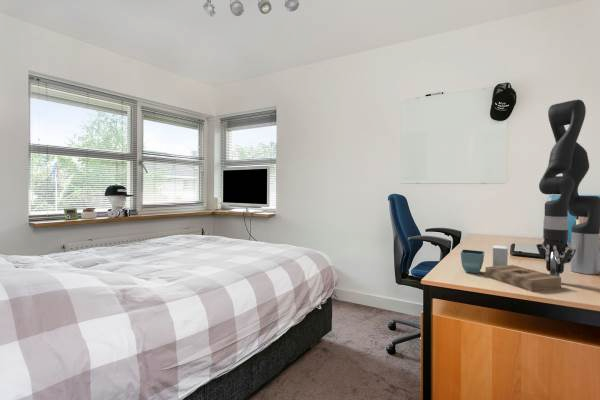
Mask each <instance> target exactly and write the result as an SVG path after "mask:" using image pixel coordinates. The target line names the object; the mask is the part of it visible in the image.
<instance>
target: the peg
mask: <svg viewBox="0 0 600 400" xmlns="http://www.w3.org/2000/svg"><path fill="white" fill-rule="evenodd" d="M557 264H558V263H557V259H556V257H555V253H554V252H551V251H550V271H549V274H550V275H554V276H558V277H561V276H560V275H561V273H560V274H559V273H557V272H556V269H557Z"/></svg>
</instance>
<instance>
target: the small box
mask: <svg viewBox="0 0 600 400" xmlns="http://www.w3.org/2000/svg"><path fill="white" fill-rule="evenodd" d="M508 250H509V249H508V246H506V245H492V267H494V266H505V265H508Z"/></svg>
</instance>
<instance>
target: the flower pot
mask: <svg viewBox="0 0 600 400" xmlns="http://www.w3.org/2000/svg"><path fill="white" fill-rule="evenodd" d="M484 257H485V251H483V250H475V249H474V250H473V249H464V248H463V249H461V252H460V260H461V261H460V262H461V267H462V269H463V270H464V272H465V273H472V274H479V273H480V272H481V269H482V267H483V263H484V260H485V259H484Z"/></svg>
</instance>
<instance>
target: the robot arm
mask: <svg viewBox="0 0 600 400" xmlns="http://www.w3.org/2000/svg"><path fill="white" fill-rule="evenodd" d="M586 110H587V109H586V105H585V102H584V101H583V100H582V99H572V100H568V101H564V102H558V103H555V104H552V105H550V106H549V108H548V111H547V112H548V113H547V116H548V122H549V124H550V125H549V126H550V127H551V131H552V134H553V138H554V141H555V144H554V145H553V147H552V148H551V150H550V154H549V159H548V165H547V168H546V170H545V172H544V173H543V175H542V177H541V179H540V181H539V183H538V189H539V192H540V193H542V194H544V195H560V196H559V198H558V199H554V200H548V201H545V203H544V217H543V231H542V233H543V234H542V236H543V237H542V238H543V240H544V241H543V242H542V243H539V244H538V243H537V244H535V245H536V248H537V250H538V253H539V256H540V259H542V260H545V262H546V263H545V264H546V265H545V268H546V270H547V272H550V251H551V252H554V253H555V257H556V259H557V263H558V264H557V269H556V272H557V273H559V274H560V275H561V274H563V273H564V271H565V264H570V271H571V272H574V273H577V274H583V275H599V274H600V196H598V195H579V186H580V184H581V182H583V179H584V178H585V177H586V176H587V173H588V172H589V170H590V160H589V156H588V152H587V150H586V149H585V148H584V147H583V146H582V145H581V144H580V143H578V138H579V136H580V133H581V130H582V127H583V124H584V121H585V118H586V112H587V111H586ZM565 126H568V128H567V129H566V127H565ZM561 174H562V175H561ZM568 214H569V215H570V216H571V217H580V218H587V220H586V221H585V222H582V223H577V224H573V225H572V226H571V233H570V234H571V238H570V240H571V245H570V247H569V244H568V240H569V217H568V216H569V215H568Z"/></svg>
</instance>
